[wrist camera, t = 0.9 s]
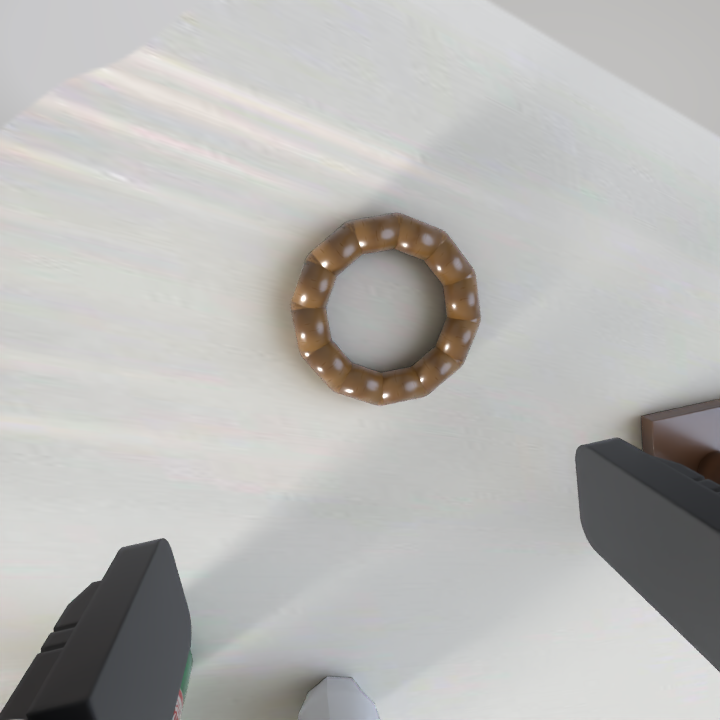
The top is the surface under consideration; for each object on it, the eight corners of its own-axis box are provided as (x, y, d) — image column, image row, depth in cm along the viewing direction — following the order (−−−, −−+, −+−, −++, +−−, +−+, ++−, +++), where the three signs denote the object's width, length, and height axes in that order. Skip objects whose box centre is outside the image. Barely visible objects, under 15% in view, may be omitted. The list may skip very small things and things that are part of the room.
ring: (276, 233, 30) (275, 232, 28) (460, 202, 31) (471, 198, 29) (312, 413, 33) (313, 424, 31) (481, 379, 34) (493, 387, 32)
